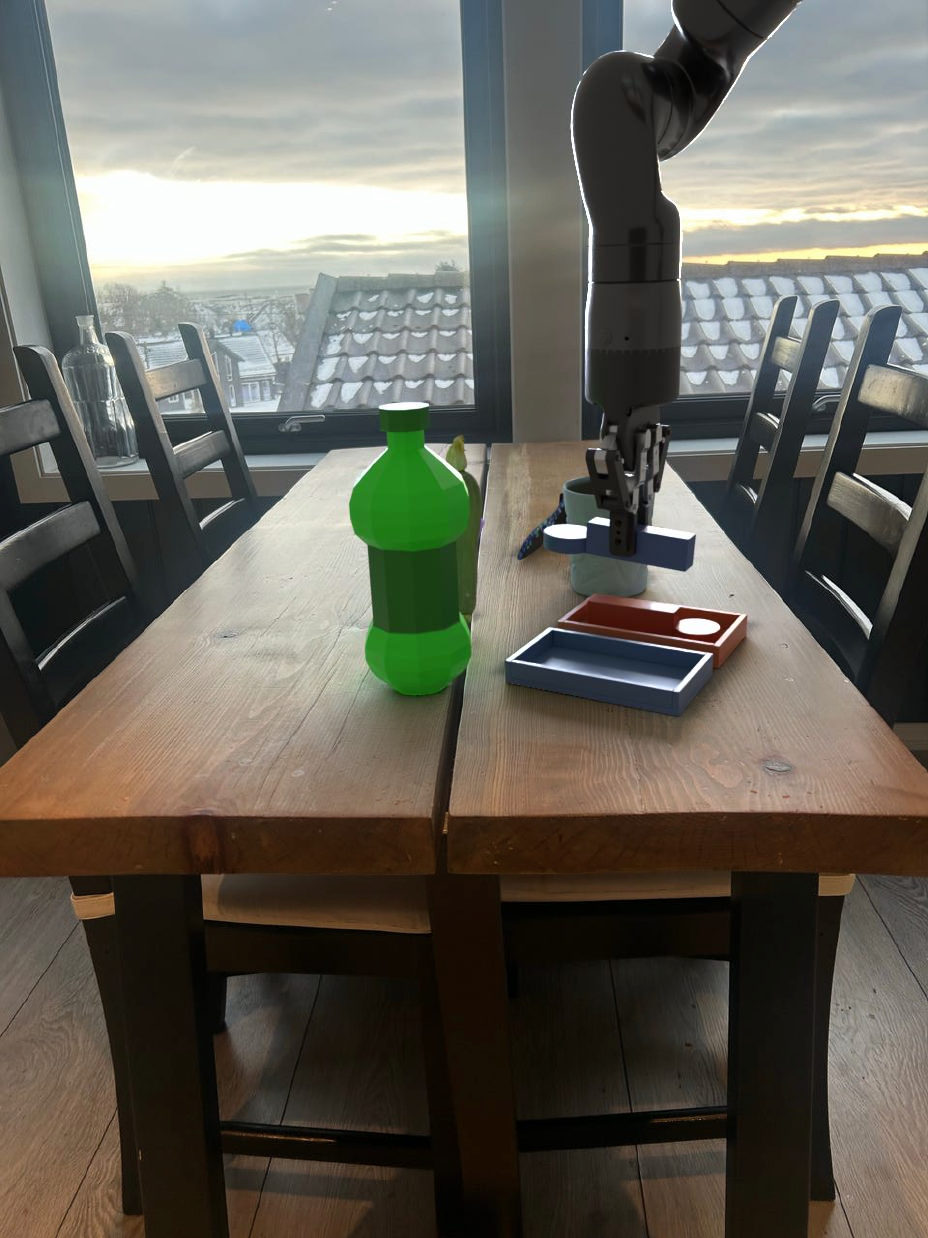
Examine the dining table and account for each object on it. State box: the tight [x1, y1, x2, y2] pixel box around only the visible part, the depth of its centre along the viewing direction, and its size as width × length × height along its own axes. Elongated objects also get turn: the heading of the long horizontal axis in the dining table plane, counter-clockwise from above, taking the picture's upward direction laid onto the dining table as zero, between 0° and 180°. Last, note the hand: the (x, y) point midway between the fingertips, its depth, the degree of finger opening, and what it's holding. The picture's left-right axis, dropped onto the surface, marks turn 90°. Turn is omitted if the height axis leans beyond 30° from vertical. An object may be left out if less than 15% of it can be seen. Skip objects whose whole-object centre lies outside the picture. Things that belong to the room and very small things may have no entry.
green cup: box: [562, 475, 656, 598], centre depth 112 cm, size 10×10×12 cm
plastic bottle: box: [348, 401, 472, 697], centre depth 87 cm, size 10×10×25 cm
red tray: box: [557, 593, 748, 669], centre depth 99 cm, size 16×9×2 cm, turn 60°
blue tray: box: [504, 627, 714, 717], centre depth 90 cm, size 16×9×2 cm, turn 60°
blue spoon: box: [543, 517, 697, 573], centre depth 85 cm, size 13×4×3 cm, turn 60°
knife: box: [516, 492, 567, 561], centre depth 136 cm, size 30×3×4 cm, turn 151°
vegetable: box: [445, 434, 483, 625], centre depth 101 cm, size 4×4×20 cm
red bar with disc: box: [587, 595, 721, 644], centre depth 98 cm, size 13×4×3 cm, turn 60°
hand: (628, 550), depth 85 cm, fingers closed on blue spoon, 2 cm apart
